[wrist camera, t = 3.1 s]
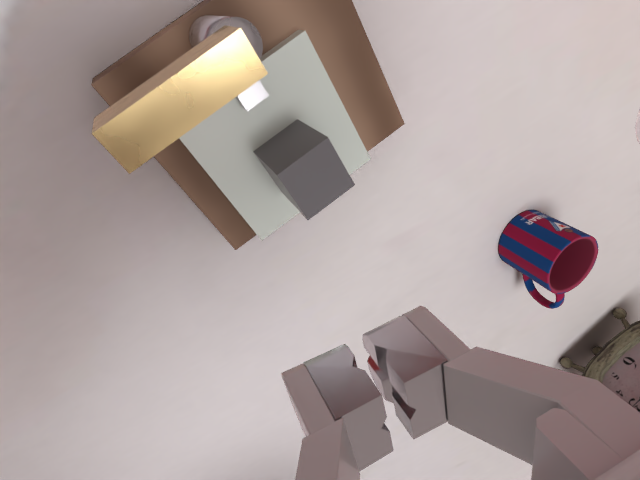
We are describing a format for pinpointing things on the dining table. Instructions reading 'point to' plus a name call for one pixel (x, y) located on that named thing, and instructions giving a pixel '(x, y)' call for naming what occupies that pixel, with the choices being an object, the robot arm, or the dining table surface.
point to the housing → (274, 26)
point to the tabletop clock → (617, 362)
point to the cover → (282, 142)
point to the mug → (547, 254)
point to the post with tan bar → (186, 91)
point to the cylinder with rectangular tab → (638, 127)
